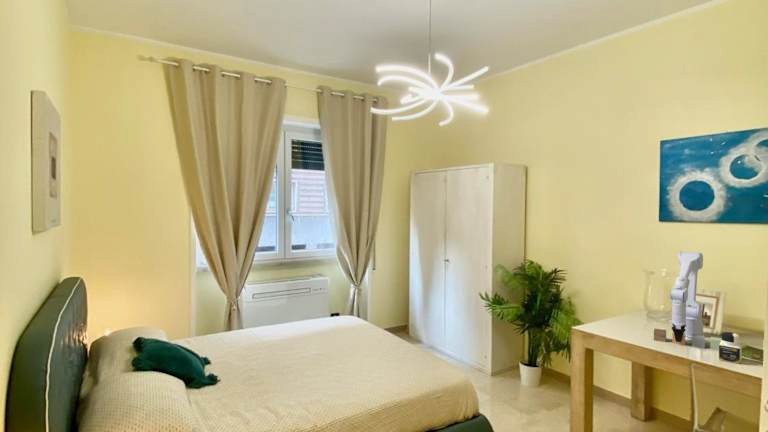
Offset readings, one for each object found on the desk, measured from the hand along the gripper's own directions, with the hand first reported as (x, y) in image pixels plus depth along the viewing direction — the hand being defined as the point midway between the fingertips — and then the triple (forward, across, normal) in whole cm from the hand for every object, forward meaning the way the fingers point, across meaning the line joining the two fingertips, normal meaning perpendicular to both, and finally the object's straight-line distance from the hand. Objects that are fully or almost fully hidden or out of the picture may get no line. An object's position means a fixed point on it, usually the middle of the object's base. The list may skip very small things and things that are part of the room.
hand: (678, 339), depth 206 cm
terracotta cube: (+2, 0, 0) cm, 2 cm away
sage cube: (+2, +1, +15) cm, 15 cm away
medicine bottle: (+2, +15, +19) cm, 24 cm away
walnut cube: (+2, 0, -8) cm, 8 cm away
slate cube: (+2, 0, +8) cm, 8 cm away
